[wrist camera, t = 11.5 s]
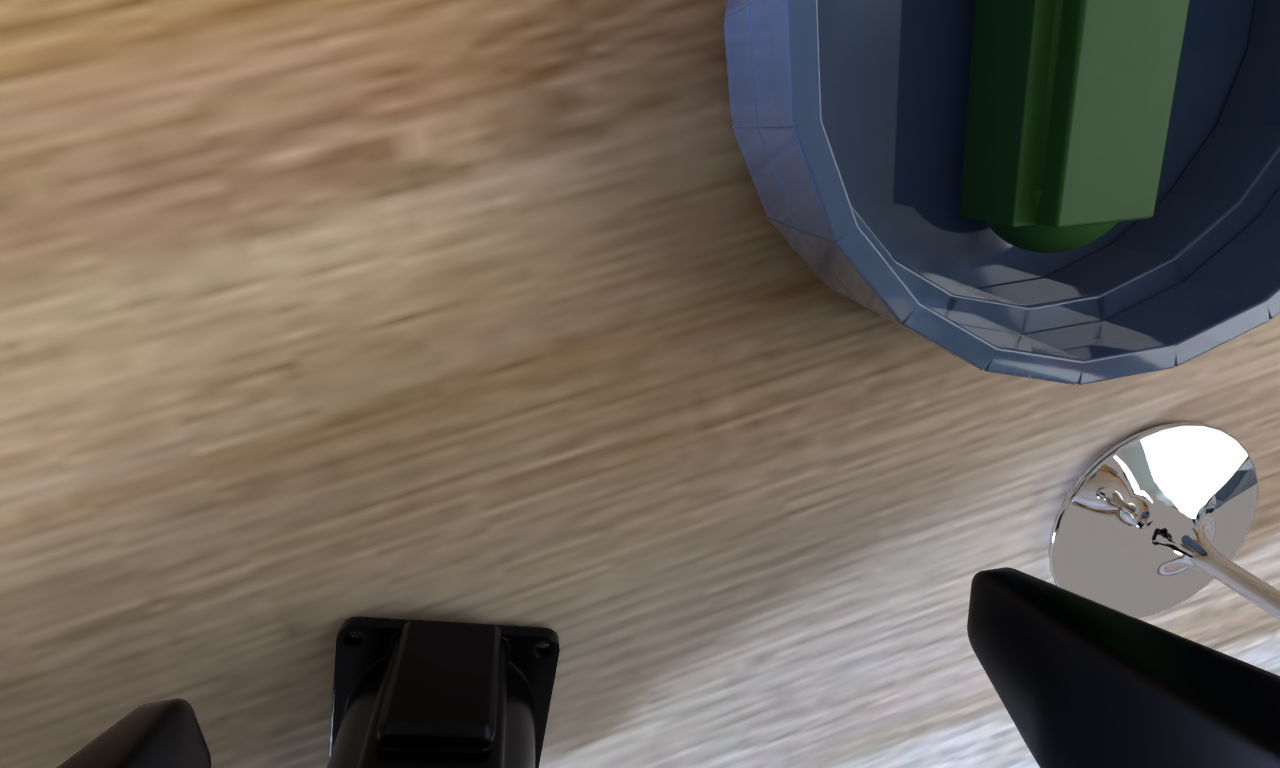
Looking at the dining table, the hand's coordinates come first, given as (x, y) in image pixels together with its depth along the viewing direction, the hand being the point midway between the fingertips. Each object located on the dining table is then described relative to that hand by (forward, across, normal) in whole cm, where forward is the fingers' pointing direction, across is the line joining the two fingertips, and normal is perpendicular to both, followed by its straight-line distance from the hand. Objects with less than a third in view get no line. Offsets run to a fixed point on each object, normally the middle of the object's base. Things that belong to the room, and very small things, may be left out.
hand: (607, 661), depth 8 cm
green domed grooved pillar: (+11, -12, -7) cm, 18 cm away
